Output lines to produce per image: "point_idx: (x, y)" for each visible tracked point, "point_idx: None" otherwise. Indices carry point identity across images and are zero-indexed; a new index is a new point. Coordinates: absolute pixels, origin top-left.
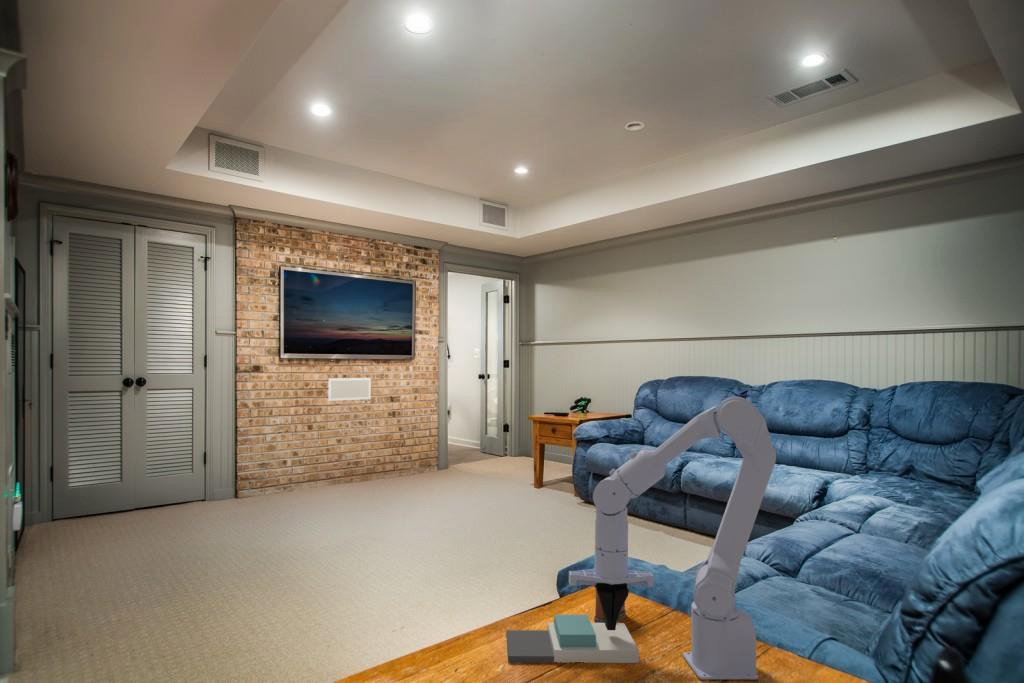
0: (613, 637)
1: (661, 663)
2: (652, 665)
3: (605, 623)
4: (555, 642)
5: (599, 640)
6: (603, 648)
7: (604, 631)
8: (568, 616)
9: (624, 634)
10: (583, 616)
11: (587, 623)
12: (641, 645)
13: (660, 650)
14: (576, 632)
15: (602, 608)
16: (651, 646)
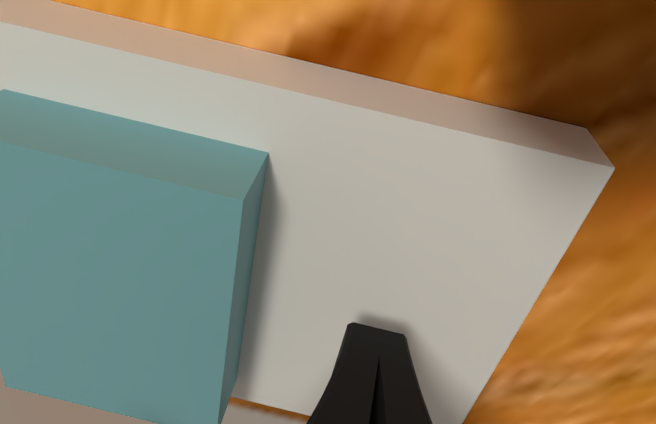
0: (384, 329)
1: (544, 420)
2: (491, 419)
3: (341, 348)
4: None
5: (283, 332)
6: (273, 396)
7: (366, 253)
8: (63, 194)
9: (481, 317)
10: (198, 222)
11: (201, 326)
12: (586, 280)
13: (648, 345)
14: (105, 393)
15: (314, 411)
16: (637, 303)
